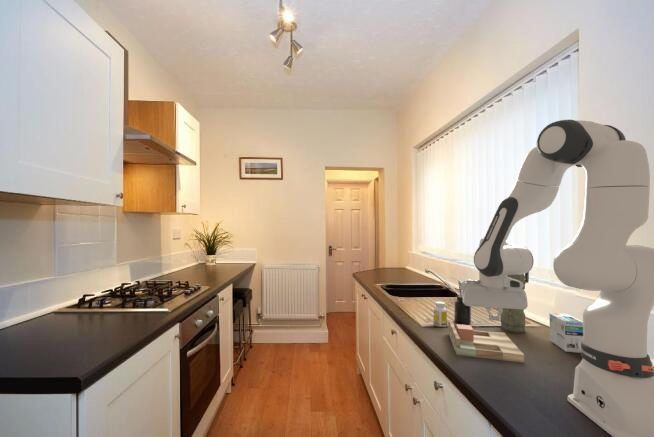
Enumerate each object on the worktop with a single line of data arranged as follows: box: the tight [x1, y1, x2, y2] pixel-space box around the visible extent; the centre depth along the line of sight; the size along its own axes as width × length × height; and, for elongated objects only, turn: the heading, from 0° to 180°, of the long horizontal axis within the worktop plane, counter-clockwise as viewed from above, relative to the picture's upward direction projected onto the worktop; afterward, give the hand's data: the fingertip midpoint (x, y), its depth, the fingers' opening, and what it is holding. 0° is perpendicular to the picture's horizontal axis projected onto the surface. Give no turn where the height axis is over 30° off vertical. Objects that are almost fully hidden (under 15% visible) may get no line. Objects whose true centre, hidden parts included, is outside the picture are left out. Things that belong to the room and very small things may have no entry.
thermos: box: [499, 271, 530, 334], centre depth 125 cm, size 9×12×35 cm
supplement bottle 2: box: [453, 294, 472, 325], centre depth 133 cm, size 7×7×12 cm
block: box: [455, 323, 474, 341], centre depth 108 cm, size 5×5×4 cm
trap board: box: [448, 320, 525, 364], centre depth 106 cm, size 20×20×6 cm
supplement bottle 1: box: [433, 301, 448, 328], centre depth 130 cm, size 5×5×10 cm
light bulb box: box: [548, 312, 583, 354], centre depth 107 cm, size 11×7×11 cm, turn 168°
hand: (494, 320), depth 105 cm, fingers closed
